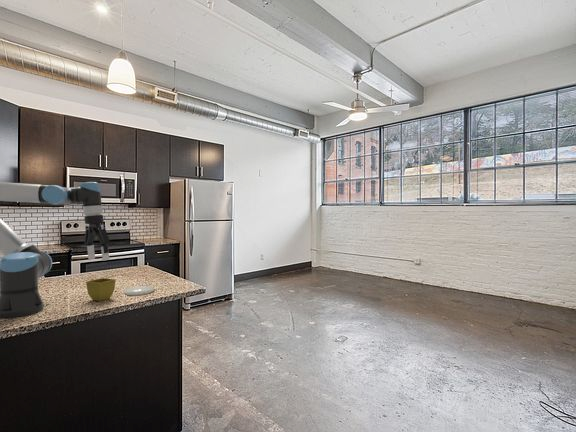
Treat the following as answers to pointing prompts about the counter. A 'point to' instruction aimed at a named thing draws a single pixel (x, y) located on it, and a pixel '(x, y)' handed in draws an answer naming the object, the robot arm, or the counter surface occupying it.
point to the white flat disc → (139, 290)
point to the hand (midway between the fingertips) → (98, 259)
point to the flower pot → (100, 288)
